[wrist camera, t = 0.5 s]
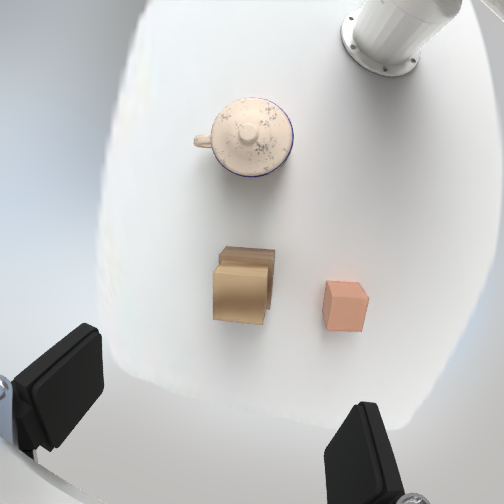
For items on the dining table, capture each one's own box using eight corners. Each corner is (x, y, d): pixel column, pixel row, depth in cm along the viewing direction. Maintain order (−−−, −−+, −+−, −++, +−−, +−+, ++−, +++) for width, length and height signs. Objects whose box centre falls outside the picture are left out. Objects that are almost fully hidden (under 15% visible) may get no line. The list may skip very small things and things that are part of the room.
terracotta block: (326, 280, 42) (332, 296, 36) (359, 282, 41) (369, 298, 36) (322, 311, 43) (326, 330, 37) (353, 312, 43) (361, 331, 37)
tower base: (226, 246, 42) (218, 255, 38) (275, 249, 42) (273, 259, 37) (225, 290, 44) (218, 304, 39) (271, 295, 44) (269, 309, 39)
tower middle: (222, 260, 38) (213, 272, 33) (269, 264, 37) (266, 277, 32) (221, 302, 39) (213, 319, 34) (265, 307, 39) (262, 324, 34)
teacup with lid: (292, 114, 37) (294, 89, 25) (291, 178, 39) (293, 178, 28) (206, 115, 38) (177, 95, 27) (205, 177, 40) (175, 178, 29)
